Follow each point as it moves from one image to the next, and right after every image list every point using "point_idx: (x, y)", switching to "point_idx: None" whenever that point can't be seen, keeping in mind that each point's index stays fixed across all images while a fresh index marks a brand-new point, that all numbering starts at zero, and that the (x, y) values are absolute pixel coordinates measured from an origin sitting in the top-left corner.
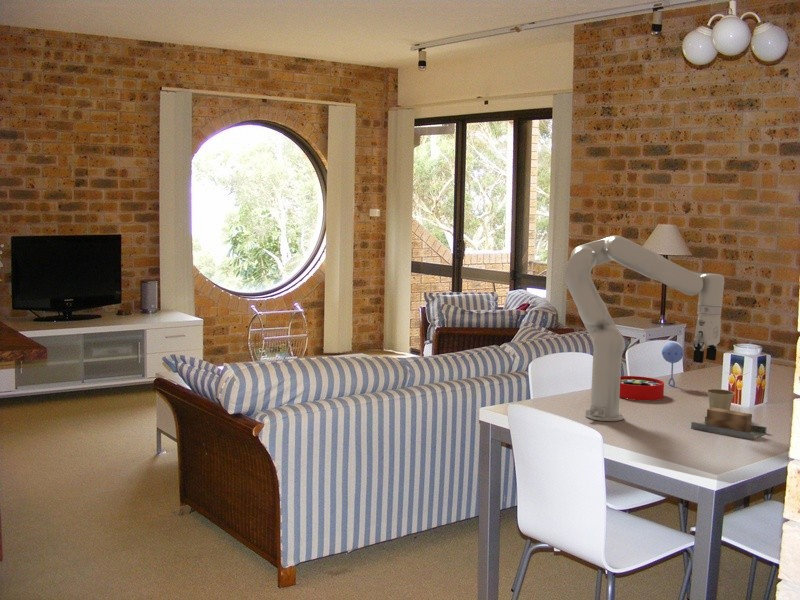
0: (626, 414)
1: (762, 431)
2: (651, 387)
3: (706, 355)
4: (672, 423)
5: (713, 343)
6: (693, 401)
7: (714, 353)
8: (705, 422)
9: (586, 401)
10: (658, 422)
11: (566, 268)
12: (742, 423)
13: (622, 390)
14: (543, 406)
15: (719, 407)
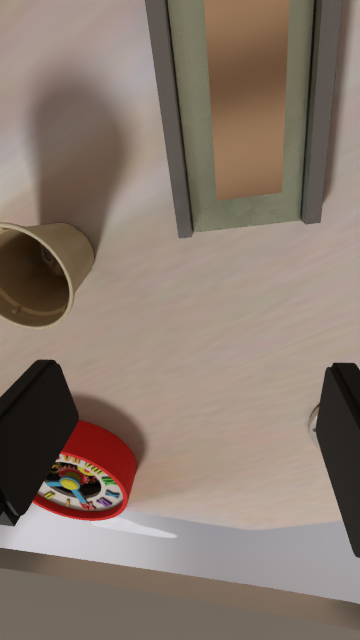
0: (279, 406)
1: None
2: (83, 453)
3: (64, 442)
4: (288, 291)
5: (145, 622)
6: (4, 369)
7: (18, 413)
8: (200, 225)
9: (226, 488)
10: (307, 322)
11: None
12: None
13: (131, 479)
14: (340, 515)
15: (76, 247)
